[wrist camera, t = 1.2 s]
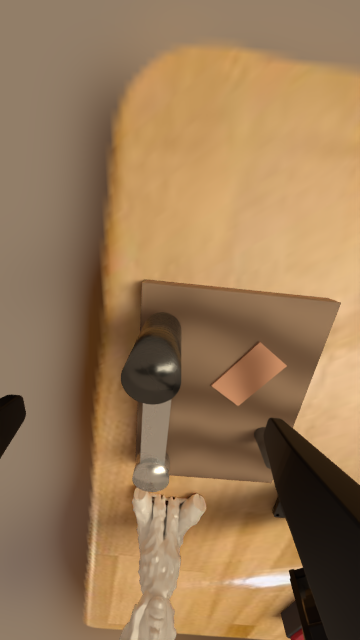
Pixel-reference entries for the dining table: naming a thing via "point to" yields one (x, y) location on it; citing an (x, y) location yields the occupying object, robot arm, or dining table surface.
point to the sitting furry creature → (159, 560)
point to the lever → (154, 394)
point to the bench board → (235, 372)
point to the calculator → (292, 622)
